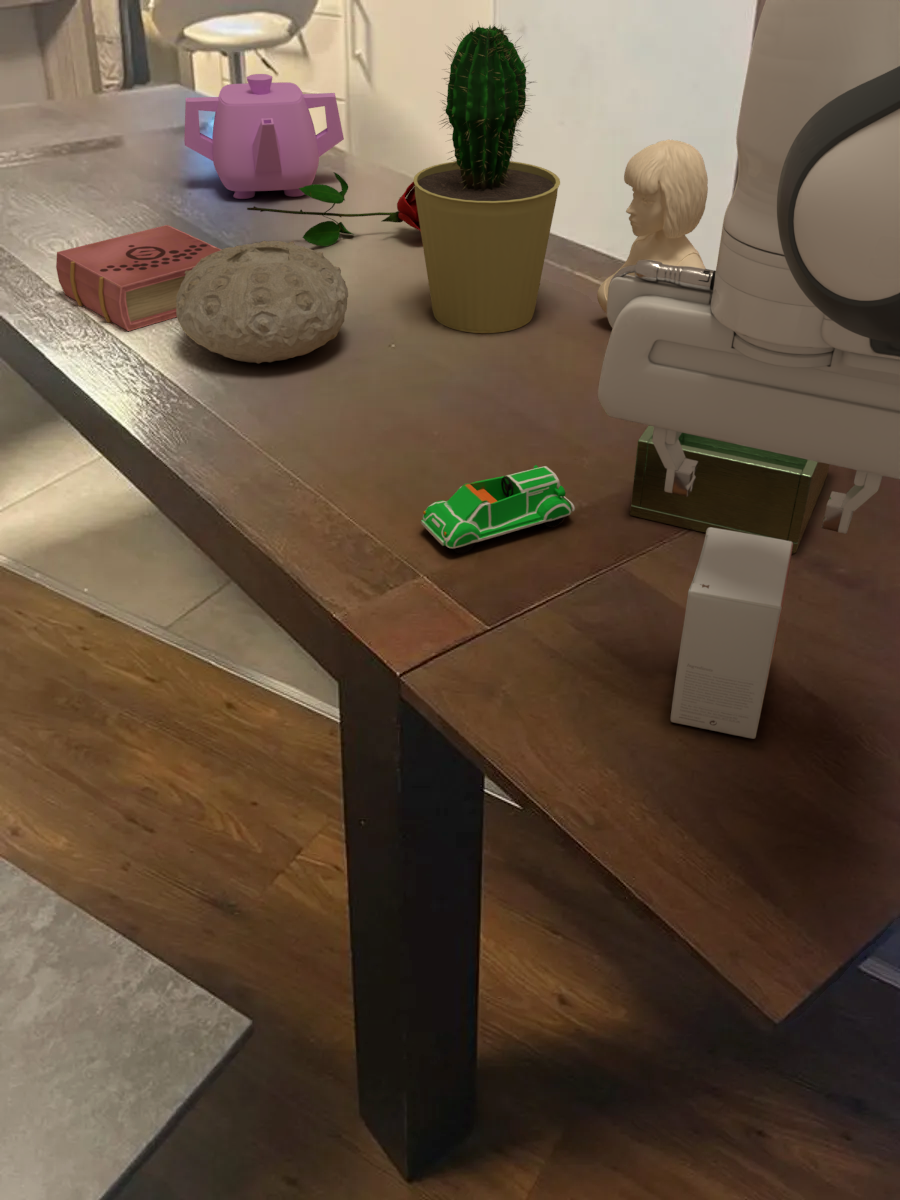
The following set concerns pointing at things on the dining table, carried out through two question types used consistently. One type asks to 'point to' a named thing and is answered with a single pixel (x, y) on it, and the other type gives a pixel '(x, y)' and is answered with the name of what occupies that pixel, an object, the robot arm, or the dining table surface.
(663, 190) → the figurine
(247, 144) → the teapot
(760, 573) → the small box
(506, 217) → the potted cactus
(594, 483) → the dining table surface
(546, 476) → the toy car
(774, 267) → the robot arm
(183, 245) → the book
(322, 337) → the decorative shell
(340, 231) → the flower
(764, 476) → the open box
